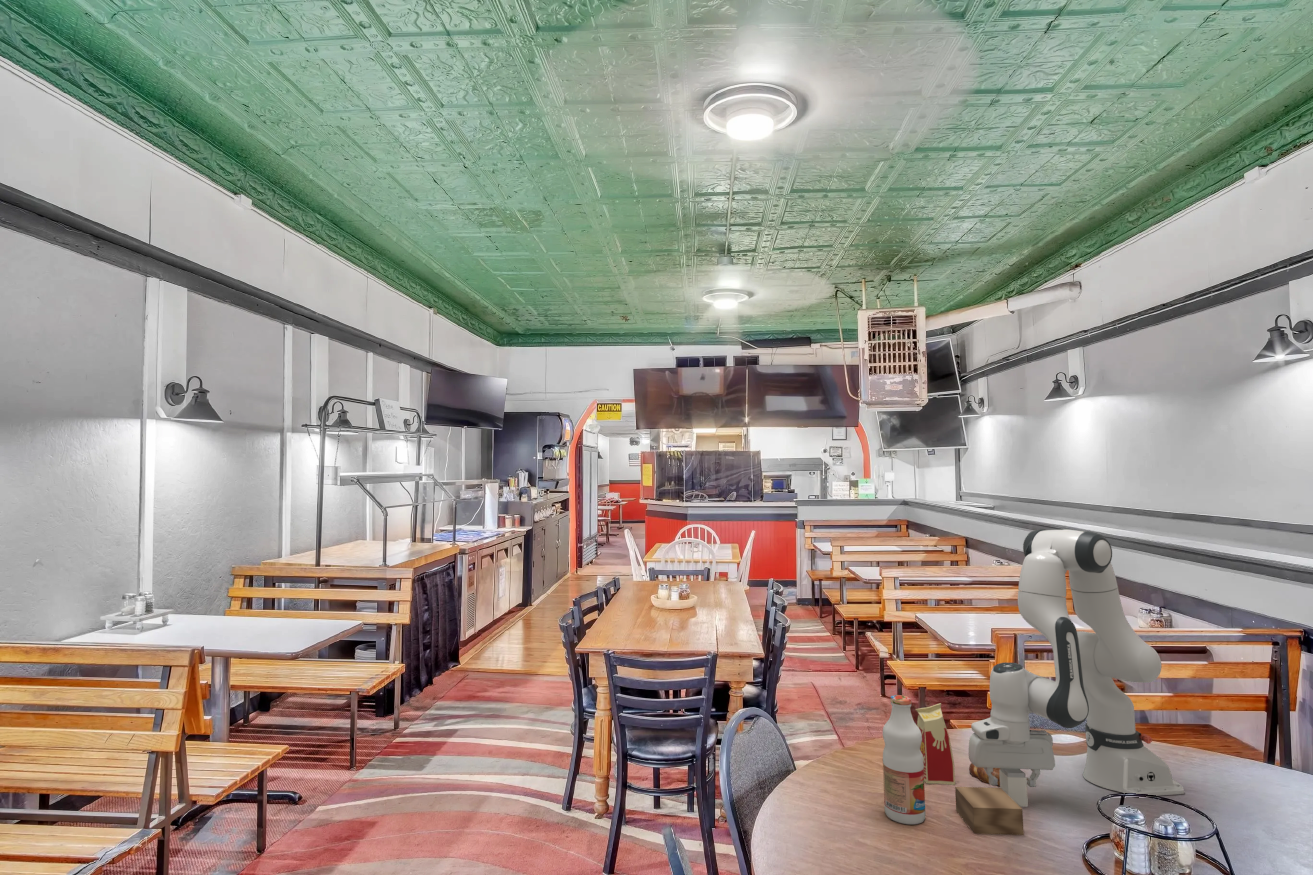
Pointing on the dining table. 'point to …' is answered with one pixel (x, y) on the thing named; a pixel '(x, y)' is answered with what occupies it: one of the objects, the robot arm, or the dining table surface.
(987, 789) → the block
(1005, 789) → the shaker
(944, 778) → the milk carton
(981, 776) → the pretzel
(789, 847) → the dining table surface
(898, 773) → the fruit juice
